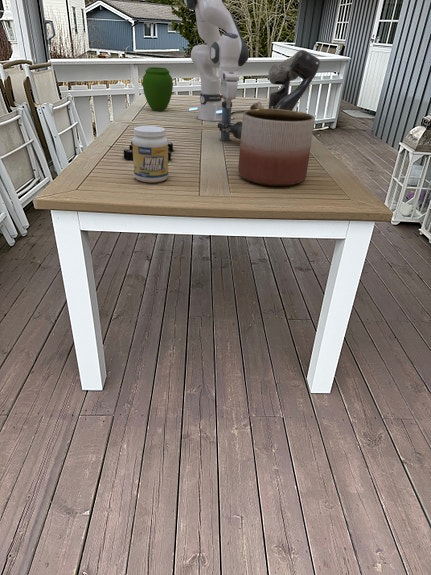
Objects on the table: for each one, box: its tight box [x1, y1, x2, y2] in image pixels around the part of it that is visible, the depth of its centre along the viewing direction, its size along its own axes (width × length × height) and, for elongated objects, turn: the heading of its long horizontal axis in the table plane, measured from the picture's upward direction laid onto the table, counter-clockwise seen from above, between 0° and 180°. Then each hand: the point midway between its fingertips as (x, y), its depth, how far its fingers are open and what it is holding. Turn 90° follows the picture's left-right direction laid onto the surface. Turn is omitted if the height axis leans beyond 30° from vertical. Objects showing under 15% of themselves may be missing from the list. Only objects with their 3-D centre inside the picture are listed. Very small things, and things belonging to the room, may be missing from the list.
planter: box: [237, 108, 316, 187], centre depth 148 cm, size 25×25×22 cm
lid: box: [222, 100, 233, 109], centre depth 195 cm, size 5×5×2 cm
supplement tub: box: [131, 125, 169, 183], centre depth 142 cm, size 12×12×17 cm
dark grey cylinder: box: [220, 107, 232, 142], centre depth 199 cm, size 4×4×17 cm
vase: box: [141, 66, 174, 112], centre depth 261 cm, size 20×20×24 cm
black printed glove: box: [123, 140, 174, 161], centre depth 177 cm, size 19×3×30 cm
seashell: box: [249, 101, 265, 110], centre depth 266 cm, size 10×6×8 cm, turn 97°
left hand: (226, 107), depth 195 cm, fingers closed on lid, 5 cm apart
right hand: (222, 124), depth 202 cm, fingers closed on dark grey cylinder, 4 cm apart
